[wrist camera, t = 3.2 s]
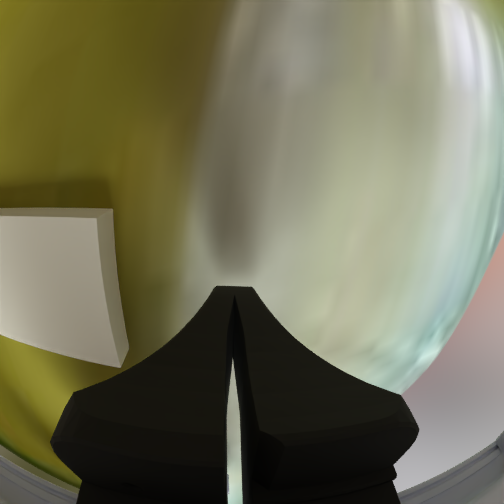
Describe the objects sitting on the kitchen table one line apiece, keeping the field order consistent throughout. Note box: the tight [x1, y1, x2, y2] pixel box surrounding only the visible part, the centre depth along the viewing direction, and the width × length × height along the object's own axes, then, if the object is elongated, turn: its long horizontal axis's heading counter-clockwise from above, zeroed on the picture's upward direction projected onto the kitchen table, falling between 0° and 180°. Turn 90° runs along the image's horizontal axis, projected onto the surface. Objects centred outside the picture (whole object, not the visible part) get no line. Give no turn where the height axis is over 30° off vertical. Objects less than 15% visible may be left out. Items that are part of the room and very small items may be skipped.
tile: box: [0, 208, 129, 368], centre depth 10 cm, size 12×7×2 cm, turn 84°
